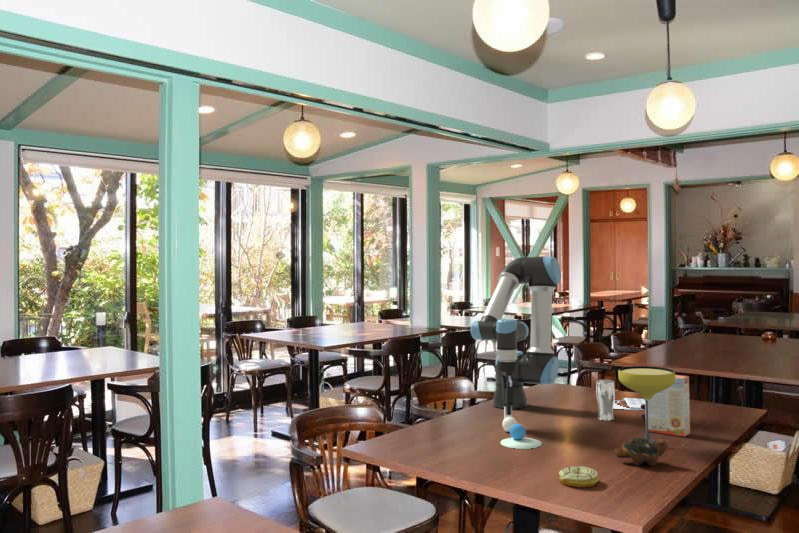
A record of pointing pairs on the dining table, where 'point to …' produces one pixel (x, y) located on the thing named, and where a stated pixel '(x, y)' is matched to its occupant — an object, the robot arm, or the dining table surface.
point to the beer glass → (605, 399)
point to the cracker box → (670, 409)
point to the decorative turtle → (642, 450)
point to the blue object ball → (517, 431)
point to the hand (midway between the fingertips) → (508, 422)
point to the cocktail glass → (646, 382)
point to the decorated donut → (578, 476)
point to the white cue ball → (508, 423)
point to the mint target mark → (521, 443)
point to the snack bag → (630, 404)
